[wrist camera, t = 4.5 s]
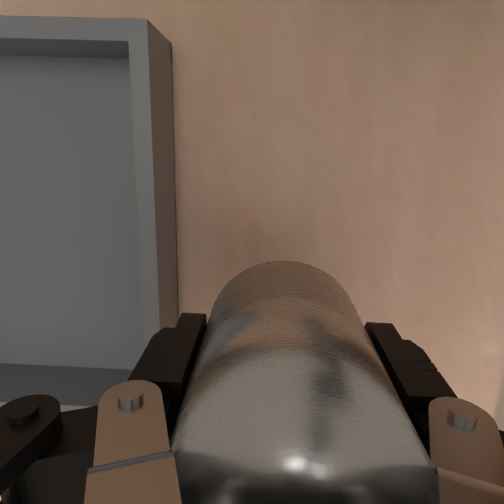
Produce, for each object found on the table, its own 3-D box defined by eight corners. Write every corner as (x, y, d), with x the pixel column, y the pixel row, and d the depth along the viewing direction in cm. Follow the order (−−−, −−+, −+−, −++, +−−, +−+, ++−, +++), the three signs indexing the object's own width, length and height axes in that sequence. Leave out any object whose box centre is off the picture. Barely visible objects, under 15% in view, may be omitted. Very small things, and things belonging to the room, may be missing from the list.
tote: (-111, 36, 24) (-204, 10, 19) (171, 43, 24) (147, 19, 19) (-41, 367, 31) (-98, 409, 26) (179, 378, 30) (163, 422, 26)
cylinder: (209, 257, 12) (138, 405, 6) (365, 264, 12) (485, 424, 5) (209, 389, 14) (153, 630, 7) (349, 397, 14) (426, 650, 7)
